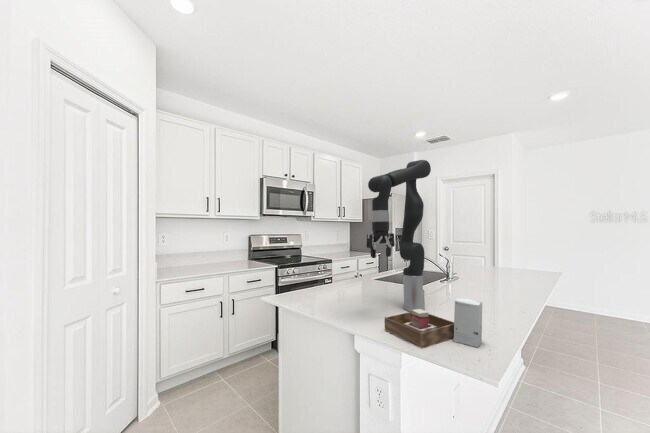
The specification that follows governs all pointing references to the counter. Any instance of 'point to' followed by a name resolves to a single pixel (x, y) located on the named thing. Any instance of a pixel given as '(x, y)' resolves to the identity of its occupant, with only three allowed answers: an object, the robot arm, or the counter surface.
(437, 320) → the crate
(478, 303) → the skincare box
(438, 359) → the counter surface
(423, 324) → the small box
